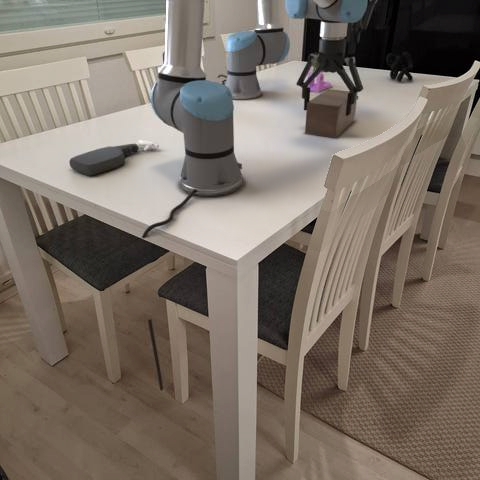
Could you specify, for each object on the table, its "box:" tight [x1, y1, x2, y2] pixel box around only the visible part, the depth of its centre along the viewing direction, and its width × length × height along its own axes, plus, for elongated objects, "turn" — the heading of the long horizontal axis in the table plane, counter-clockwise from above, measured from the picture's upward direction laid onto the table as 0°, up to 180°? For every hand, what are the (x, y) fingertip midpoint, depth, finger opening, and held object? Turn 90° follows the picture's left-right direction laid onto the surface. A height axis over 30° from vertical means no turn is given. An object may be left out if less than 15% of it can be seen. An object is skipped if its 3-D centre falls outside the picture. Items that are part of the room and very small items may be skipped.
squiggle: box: [385, 51, 414, 83], centre depth 198 cm, size 11×10×15 cm
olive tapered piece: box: [310, 52, 319, 72], centre depth 217 cm, size 8×7×8 cm
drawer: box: [354, 92, 359, 117], centre depth 148 cm, size 24×9×8 cm, turn 151°
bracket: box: [306, 71, 332, 93], centre depth 188 cm, size 13×6×7 cm, turn 143°
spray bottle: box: [68, 139, 160, 177], centre depth 124 cm, size 3×11×24 cm
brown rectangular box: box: [304, 88, 358, 139], centre depth 143 cm, size 19×10×10 cm, turn 151°
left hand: (326, 111), depth 139 cm, fingers open, 13 cm apart
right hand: (351, 53), depth 147 cm, fingers closed
